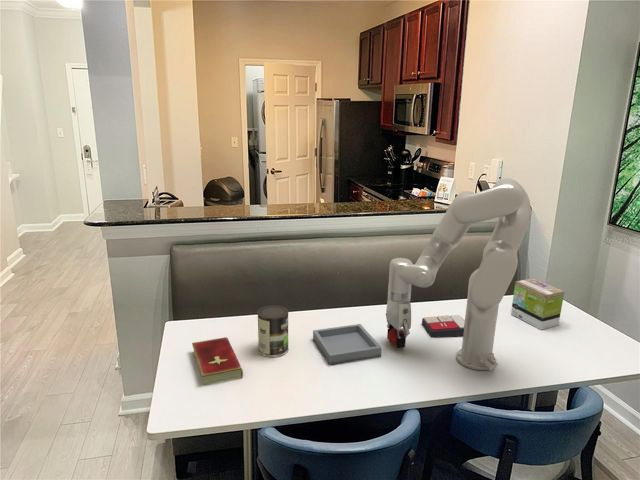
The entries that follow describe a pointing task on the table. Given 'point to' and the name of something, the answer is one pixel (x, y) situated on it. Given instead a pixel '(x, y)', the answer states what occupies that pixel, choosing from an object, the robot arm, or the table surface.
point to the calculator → (444, 326)
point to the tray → (346, 344)
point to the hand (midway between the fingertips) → (395, 342)
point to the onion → (393, 336)
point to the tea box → (537, 303)
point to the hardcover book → (217, 361)
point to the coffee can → (273, 331)
